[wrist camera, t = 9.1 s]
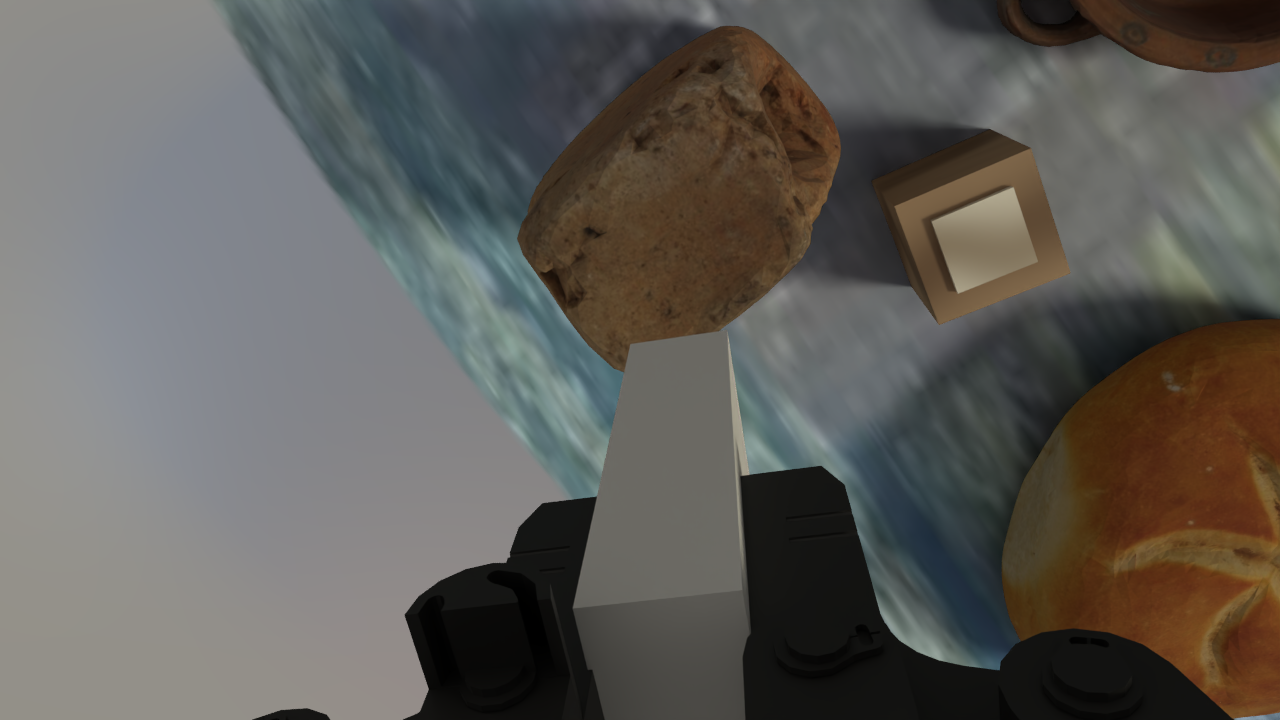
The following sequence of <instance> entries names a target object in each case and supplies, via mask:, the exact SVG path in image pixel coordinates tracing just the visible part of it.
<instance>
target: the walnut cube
mask: <svg viewBox="0 0 1280 720" xmlns="http://www.w3.org/2000/svg"><path fill="white" fill-rule="evenodd" d="M872 184H873V187H874V189H875V192H876V194H877V197H878V200H879V202H880V205H881V208H882V210H883V213H884V215H885V218H886V221H887V223H888V226H889V229H890V231H891V234H892V236H893V239H894V242H895V244H896V247H897V250H898V252H899V255H900V257H901V260H902V263H903V265H904V268H905V271H906V273H907V276H908V278H909V281H910V284H911V286H912V288H913V289H914V291H915V292H916V294H917V295H918V296H919V298H920V299H921V301H922V302H923V303H924V305H925V306H926V308H927V309H928V310H929V312H930V313H931V314H932V316H933V317H934V319H935V320H936V321H937V323H938V324H939V325H940V324H943V323H945V322H948V321H950V320H953V319H955V318H958V317H961V316H963V315H966V314H968V313H971V312H973V311H976V310H978V309H981V308H983V307H986V306H988V305H991V304H994V303H996V302H999V301H1001V300H1004V299H1006V298H1009V297H1011V296H1014V295H1016V294H1019V293H1021V292H1024V291H1027V290H1029V289H1032V288H1034V287H1037V286H1039V285H1042V284H1044V283H1047V282H1049V281H1052V280H1054V279H1057V278H1060V277H1062V276H1065V275H1067V274H1070V270H1069V267H1068V263H1067V260H1066V257H1065V254H1064V251H1063V248H1062V245H1061V241H1060V238H1059V235H1058V232H1057V229H1056V226H1055V223H1054V219H1053V216H1052V213H1051V210H1050V207H1049V204H1048V201H1047V197H1046V194H1045V191H1044V188H1043V185H1042V182H1041V179H1040V175H1039V172H1038V169H1037V166H1036V163H1035V160H1034V157H1033V153H1032V150H1031V148H1029V147H1027V146H1025V145H1023V144H1021V143H1019V142H1016V141H1014V140H1012V139H1010V138H1008V137H1006V136H1004V135H1002V134H999V133H997V132H995V131H993V130H991V129H989V130H987V131H985V132H983V133H980V134H978V135H976V136H973V137H971V138H969V139H966V140H964V141H962V142H960V143H957V144H955V145H953V146H950V147H948V148H946V149H943V150H941V151H939V152H937V153H934V154H932V155H930V156H927V157H925V158H923V159H920V160H918V161H916V162H914V163H911V164H909V165H907V166H904V167H902V168H900V169H897V170H895V171H893V172H891V173H888V174H886V175H884V176H881V177H879V178H877V179H874V180H872Z"/></svg>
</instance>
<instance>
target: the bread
mask: <svg viewBox="0 0 1280 720" xmlns="http://www.w3.org/2000/svg"><path fill="white" fill-rule="evenodd" d="M1002 584H1003V591H1004V597H1005V601H1006V606H1007V610H1008V614H1009V617H1010V619H1011V622H1012V624H1013V626H1014V628H1015V630H1016V633H1017V635H1018V637H1019V639H1020V641H1023V640H1026V639H1028V638H1030V637H1032V636H1034V635H1037V634H1039V633H1041V632H1048V631H1056V630H1064V629H1072V628H1075V629H1084V630H1092V631H1101V632H1109V633H1112V634H1115V635H1118V636H1121V637H1123V638H1126V639H1129V640H1132V641H1135V642H1138V643H1141V644H1143V645H1145V646H1146V647H1148V648H1149V649H1151V650H1152V651H1154V652H1155V653H1157V654H1158V655H1160V656H1161V657H1163V658H1164V659H1166V660H1167V661H1169V662H1170V663H1172V664H1173V665H1174V666H1175V667H1176V668H1177V669H1178V670H1179V671H1180V672H1182V673H1183V674H1184V675H1185V676H1186V677H1187V678H1188V679H1189V680H1190V681H1192V682H1193V683H1194V684H1195V685H1196V686H1197V687H1198V688H1199V689H1200V690H1202V691H1203V692H1204V693H1205V694H1206V695H1207V696H1208V697H1209V698H1210V699H1211V700H1213V701H1214V702H1215V703H1216V704H1217V705H1218V706H1219V707H1220V708H1221V709H1223V710H1224V711H1225V712H1226V713H1227V714H1228V715H1229V716H1230V717H1231V718H1240V717H1250V716H1259V715H1267V714H1273V713H1279V712H1280V319H1260V320H1244V321H1234V322H1225V323H1218V324H1213V325H1208V326H1203V327H1200V328H1196V329H1193V330H1190V331H1188V332H1185V333H1182V334H1180V335H1177V336H1174V337H1172V338H1169V339H1167V340H1165V341H1163V342H1161V343H1159V344H1157V345H1155V346H1153V347H1151V348H1150V349H1148V350H1146V351H1145V352H1143V353H1141V354H1139V355H1138V356H1136V357H1135V358H1133V359H1132V360H1130V361H1129V362H1127V363H1126V364H1124V365H1123V366H1121V367H1120V368H1119V369H1117V370H1116V371H1114V372H1113V373H1111V374H1110V375H1109V376H1108V377H1106V378H1105V379H1104V380H1102V381H1101V382H1100V383H1098V384H1097V385H1096V386H1094V387H1093V388H1092V389H1090V390H1089V391H1088V392H1087V393H1086V394H1085V395H1084V396H1082V397H1081V398H1080V399H1079V400H1078V401H1077V402H1076V403H1075V404H1074V405H1073V407H1072V408H1071V409H1070V410H1069V411H1068V412H1067V413H1066V414H1065V416H1064V417H1063V418H1062V420H1061V421H1060V422H1059V424H1058V425H1057V426H1056V428H1055V429H1054V431H1053V433H1052V434H1051V436H1050V438H1049V439H1048V441H1047V443H1046V444H1045V446H1044V447H1043V449H1042V451H1041V452H1040V454H1039V456H1038V457H1037V459H1036V461H1035V462H1034V464H1033V465H1032V467H1031V468H1030V470H1029V472H1028V474H1027V475H1026V477H1025V479H1024V481H1023V483H1022V486H1021V488H1020V491H1019V494H1018V497H1017V500H1016V503H1015V507H1014V510H1013V514H1012V517H1011V521H1010V524H1009V528H1008V531H1007V535H1006V540H1005V543H1004V548H1003V555H1002Z"/></svg>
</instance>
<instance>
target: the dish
mask: <svg viewBox="0 0 1280 720" xmlns="http://www.w3.org/2000/svg"><path fill="white" fill-rule="evenodd" d="M1069 1H1070V3H1071V5H1072V7H1073V9H1074V10H1077V11H1076V13H1075V15H1074V16H1073V17H1072V18H1071V19H1070V20H1068V21H1067V22H1065V23H1060V24H1039V23H1036V22H1034V21H1033V20H1032V19H1031V18H1030V17H1029V16H1028V15H1027V14H1026V13H1025V12H1024V10H1023V7H1022V5H1021V0H997V9H998V16H999V18H1000V20H1001V22H1002V24H1003V25H1004V26H1005V27H1006V28H1007V29H1008V30H1009V31H1010V32H1011V33H1012V34H1013V35H1015V36H1017V37H1019V38H1021V39H1022V40H1024V41H1026V42H1029V43H1032V44H1035V45H1040V46H1047V47H1051V46H1062V45H1067V44H1071V43H1074V42H1078V41H1081V40H1085V39H1088V38H1091V37H1094V36H1097V35H1100V34H1102V35H1103V36H1105V37H1107V38H1108V39H1110V40H1112V41H1113V42H1115V43H1117V44H1118V45H1120V46H1121V47H1123V48H1124V49H1126V50H1127V51H1129V52H1130V53H1132V54H1134V55H1136V56H1138V57H1140V58H1142V59H1144V60H1146V61H1150V62H1153V63H1156V64H1159V65H1164V66H1170V67H1174V68H1178V69H1183V70H1196V71H1203V72H1234V71H1244V70H1250V69H1254V68H1259V67H1263V66H1267V65H1270V64H1274V63H1278V62H1280V0H1069Z"/></svg>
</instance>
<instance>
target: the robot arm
mask: <svg viewBox="0 0 1280 720" xmlns="http://www.w3.org/2000/svg"><path fill="white" fill-rule="evenodd" d="M405 618H406V621H407V624H408V627H409V630H410V632H411V636H412V639H413V642H414V645H415V648H416V651H417V654H418V658H419V661H420V664H421V667H422V670H423V673H424V675H425V679H426V682H427V685H428V688H429V691H428V693H427V696H426V698H425V701H424V703H423V706H422V708H421V711H420V712H419V713H418V714H415V715H413V716H411V717H408V718H406V719H403V720H1234V719H1233V718H1231V717H1230V716H1229V715H1228V714H1227V713H1226V712H1225V711H1224V710H1223V709H1221V708H1220V707H1219V706H1218V705H1217V704H1216V703H1215V702H1214V701H1213V700H1211V699H1210V698H1209V697H1208V696H1207V695H1206V694H1205V693H1204V692H1203V691H1202V690H1200V689H1199V688H1198V687H1197V686H1196V685H1195V684H1194V683H1193V682H1192V681H1190V680H1189V679H1188V678H1187V677H1186V676H1185V675H1184V674H1183V673H1182V672H1180V671H1179V670H1178V669H1177V668H1176V667H1175V666H1174V665H1173V664H1172V663H1170V662H1169V661H1167V660H1166V659H1164V658H1163V657H1161V656H1160V655H1158V654H1157V653H1155V652H1154V651H1152V650H1151V649H1149V648H1148V647H1146V646H1145V645H1143V644H1141V643H1138V642H1135V641H1132V640H1129V639H1126V638H1123V637H1121V636H1118V635H1115V634H1112V633H1109V632H1101V631H1092V630H1084V629H1075V628H1072V629H1064V630H1056V631H1048V632H1041V633H1039V634H1037V635H1034V636H1032V637H1030V638H1028V639H1026V640H1023V641H1021V642H1019V643H1017V644H1015V646H1014V647H1013V648H1012V649H1011V650H1010V651H1009V653H1008V654H1007V655H1006V656H1005V657H1004V658H1003V660H1002V661H1001V664H1000V671H999V670H991V669H984V668H976V667H969V666H962V665H957V664H953V663H948V662H943V661H939V660H936V659H933V658H931V657H928V656H926V655H923V654H921V653H918V652H916V651H915V650H913V649H912V648H910V647H908V646H907V645H905V644H904V643H902V642H901V641H899V640H898V639H897V638H896V637H895V636H894V635H893V633H892V632H891V631H890V630H889V628H888V626H887V625H886V624H885V622H884V620H883V618H882V616H881V614H880V611H879V607H878V604H877V600H876V596H875V593H874V589H873V586H872V582H871V578H870V575H869V571H868V568H867V564H866V560H865V557H864V553H863V550H862V546H861V542H860V539H859V535H858V533H857V528H856V524H855V521H854V517H853V514H852V511H851V507H850V503H849V499H848V496H847V492H846V489H845V485H844V484H843V483H842V482H840V481H839V480H838V479H837V478H836V477H834V476H833V475H832V474H831V473H830V472H828V471H827V470H826V469H825V468H823V467H822V466H816V467H808V468H800V469H792V470H784V471H776V472H768V473H760V474H752V475H749V469H748V462H747V456H746V449H745V443H744V436H743V430H742V423H741V417H740V410H739V404H738V397H737V391H736V384H735V378H734V371H733V365H732V358H731V352H730V346H729V339H728V333H727V330H724V331H718V332H711V333H704V334H697V335H690V336H683V337H676V338H669V339H662V340H655V341H648V342H642V343H635V344H630V349H629V353H628V358H627V362H626V367H625V371H624V376H623V381H622V385H621V390H620V394H619V399H618V403H617V408H616V413H615V417H614V422H613V426H612V431H611V435H610V440H609V445H608V449H607V454H606V458H605V463H604V467H603V472H602V477H601V481H600V486H599V490H598V495H597V497H590V498H582V499H574V500H566V501H558V502H549V503H543V504H541V505H540V506H539V507H538V508H537V509H536V510H535V511H534V512H533V513H532V515H531V516H530V517H529V518H528V519H527V520H526V521H525V522H524V523H523V524H522V525H521V526H520V527H519V529H518V531H517V534H516V537H515V540H514V542H513V545H512V548H511V551H510V558H508V559H507V562H506V563H491V564H487V565H483V566H478V567H474V568H470V569H465V570H463V571H461V572H459V573H457V574H454V575H452V576H450V577H448V578H445V579H443V580H441V581H439V582H438V583H436V584H435V585H434V586H432V587H431V588H430V589H428V590H427V591H425V592H424V593H423V594H422V595H420V596H419V597H418V598H417V599H416V601H415V602H414V603H413V605H412V606H411V607H410V609H409V610H408V611H407V613H406V614H405ZM253 720H330V719H329V717H328V716H327V715H326V714H323V713H320V712H317V711H314V710H311V709H307V708H306V709H291V710H280V711H277V712H274V713H271V714H268V715H265V716H262V717H259V718H256V719H253Z"/></svg>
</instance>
